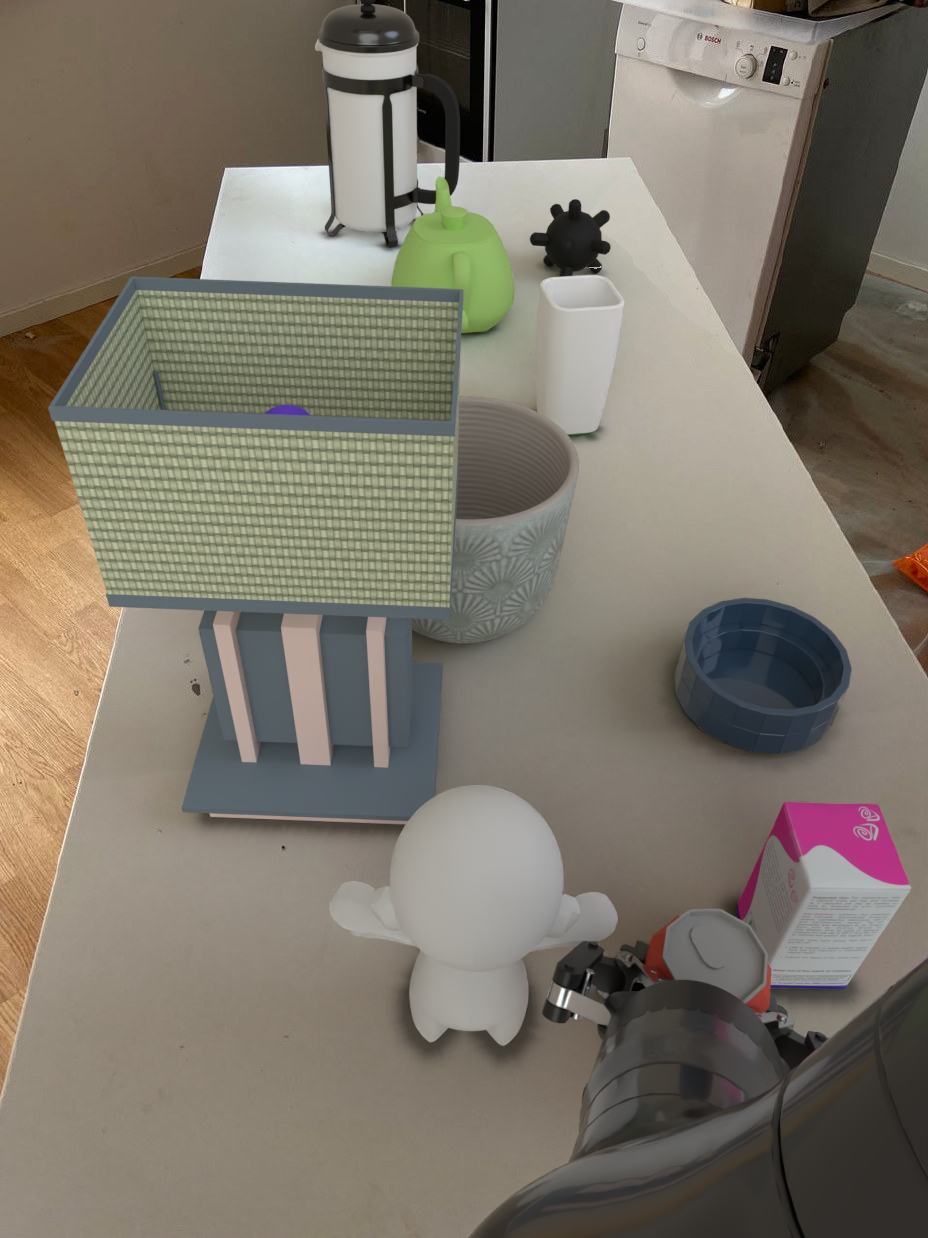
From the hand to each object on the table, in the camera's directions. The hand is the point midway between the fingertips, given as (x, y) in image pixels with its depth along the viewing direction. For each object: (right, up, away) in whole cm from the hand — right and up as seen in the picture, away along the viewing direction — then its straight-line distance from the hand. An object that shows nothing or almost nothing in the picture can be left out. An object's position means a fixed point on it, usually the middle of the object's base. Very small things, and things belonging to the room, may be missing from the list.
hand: (698, 983), depth 53 cm
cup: (-2, +41, +51) cm, 65 cm away
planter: (-13, +21, +30) cm, 39 cm away
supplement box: (+8, -1, +8) cm, 11 cm away
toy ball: (+1, +66, +78) cm, 102 cm away
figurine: (-13, -4, +4) cm, 14 cm away
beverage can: (-1, -5, +3) cm, 6 cm away
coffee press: (-24, +76, +87) cm, 118 cm away
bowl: (+10, +14, +23) cm, 29 cm away
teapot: (-14, +58, +69) cm, 92 cm away
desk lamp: (-23, +10, +18) cm, 31 cm away
